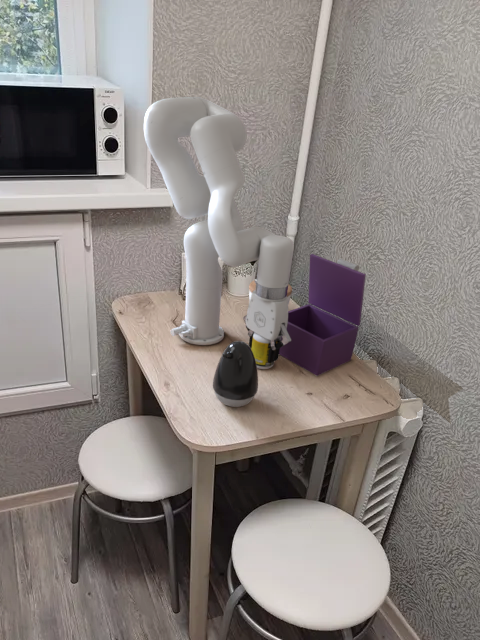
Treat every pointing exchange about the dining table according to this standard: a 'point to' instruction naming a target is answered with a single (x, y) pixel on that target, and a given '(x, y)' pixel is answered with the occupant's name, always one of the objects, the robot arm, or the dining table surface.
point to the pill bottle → (261, 351)
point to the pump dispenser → (236, 375)
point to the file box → (318, 339)
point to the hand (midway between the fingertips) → (262, 354)
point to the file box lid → (337, 288)
